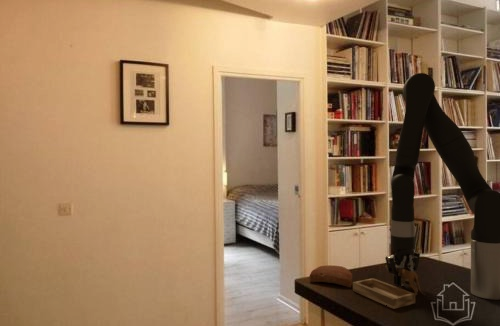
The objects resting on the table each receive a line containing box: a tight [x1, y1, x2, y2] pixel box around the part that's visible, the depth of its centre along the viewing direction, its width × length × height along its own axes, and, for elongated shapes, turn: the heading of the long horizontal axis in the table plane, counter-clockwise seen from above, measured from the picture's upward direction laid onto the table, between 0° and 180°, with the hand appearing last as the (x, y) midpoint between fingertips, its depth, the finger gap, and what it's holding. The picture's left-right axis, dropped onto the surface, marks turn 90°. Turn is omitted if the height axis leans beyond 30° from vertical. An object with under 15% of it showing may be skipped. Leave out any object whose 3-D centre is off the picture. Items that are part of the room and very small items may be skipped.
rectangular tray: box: [352, 277, 416, 310], centre depth 121 cm, size 9×17×3 cm, turn 27°
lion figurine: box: [385, 264, 426, 297], centre depth 127 cm, size 15×5×9 cm, turn 29°
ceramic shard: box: [309, 264, 353, 288], centre depth 139 cm, size 15×6×15 cm
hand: (403, 284), depth 129 cm, fingers closed on lion figurine, 4 cm apart
